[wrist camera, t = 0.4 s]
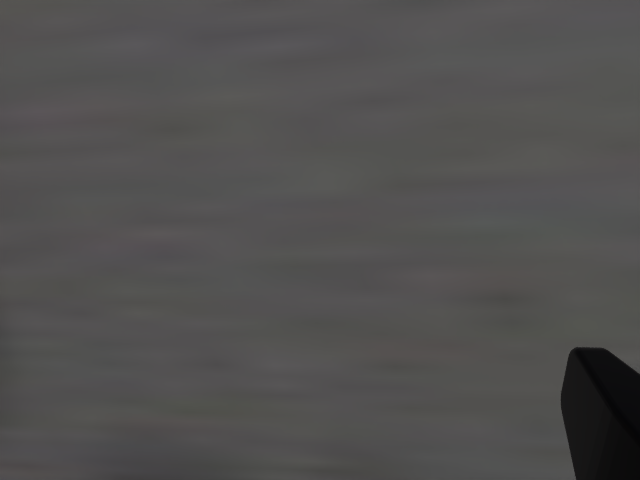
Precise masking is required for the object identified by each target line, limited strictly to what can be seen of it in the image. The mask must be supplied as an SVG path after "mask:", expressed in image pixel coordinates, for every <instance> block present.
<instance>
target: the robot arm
mask: <svg viewBox="0 0 640 480" xmlns="http://www.w3.org/2000/svg"><path fill="white" fill-rule="evenodd" d="M561 410H562V415H563V420H564V424H565V429H566V434H567V438H568V443H569V448H570V453H571V457H572V462H573V467H574V471H575V476H576V480H640V374H639V373H637V372H636V371H635V370H633V369H632V368H631V367H630V366H628V365H627V364H626V363H624V362H623V361H622V360H620V359H619V358H618V357H616V356H615V355H614V354H612V353H611V352H609V351H608V350H606V349H604V348H590V347H576V348H574V349H573V350H571V352H570V354H569V357H568V361H567V366H566V371H565V376H564V381H563V386H562V391H561Z"/></svg>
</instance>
